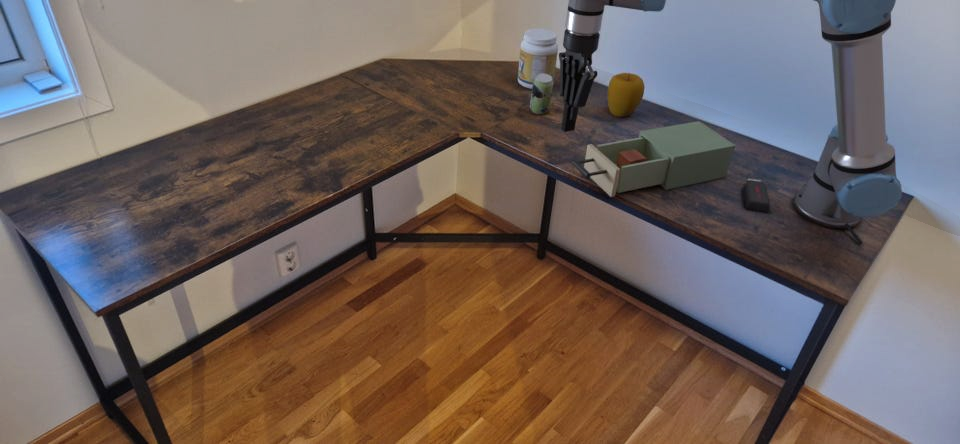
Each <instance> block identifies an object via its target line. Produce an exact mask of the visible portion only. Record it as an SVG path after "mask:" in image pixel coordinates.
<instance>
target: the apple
mask: <svg viewBox="0 0 960 444" xmlns="http://www.w3.org/2000/svg"><path fill="white" fill-rule="evenodd" d="M644 94H645V81H644V80H643V78H642V77H640V75H638V74H635V73H630V72H621V73H618V74H615V75H613V76H612V77H611V79H610V80H609V83H608V87H607V93H606V100H607V107H608V109H609V112H610V114H611V115H613V116H615V117H618V118H623V117H628V116H630V115H631V114H633V113H634V112H635V111H636V109H637V108H638V107H639V105H640V104H641V102H642V100H643V97H644Z"/></svg>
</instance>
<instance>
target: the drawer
mask: <svg viewBox="0 0 960 444" xmlns="http://www.w3.org/2000/svg"><path fill="white" fill-rule="evenodd" d="M633 149H635V150H637V151H638V152H639V153H640V154H642V155H643V156H644V157H645V158H646V162H641V163H636V164H631V165H625V166H622V167H621V172H620V169H619V168H618V167H617V166H616V165H617V160H618V155H619V152H623V151H628V150H633ZM670 162H671V158H670V157H669V156H667V155H666V154H665V153H664V152H662V151H661V150H660V149H658V148H657V147H656V146H655V145H653V144H652V143H651V142H649V141H648V140H647V139H646V138H644V137H640V138H639V137H635V138H629V139H624V140H618V141H613V142H606V143H600V144H597V145H596V146H594V144H592V143H589V144H587V146H586V152H585V158H584V159H582V160H581V159H580V160H576V159H574V160H572V161H571V165H572V166H573V167H574V168H575V169H577V170H578V171H579V172H580V173H581V175H582V176H583V177H585V178H586V179H591V180H592V181H593V182H594V183H595V184H597V186H598V187H600V188H601V189H602V190H603V191H604V192H605V193H606V194H607V195H608V196H609V198H614V197H616V193H618V194H619V193H625V192H629V191H634V190H639V189H642V188H649V187H653V186H658V185H659V184H663V183H665V182H666V178H667V174H668V170H669V166H670ZM582 164H583V165H582Z"/></svg>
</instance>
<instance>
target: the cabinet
mask: <svg viewBox="0 0 960 444" xmlns="http://www.w3.org/2000/svg"><path fill="white" fill-rule="evenodd" d="M640 137H644V138H646V139H647V140H648V141H649V142H651V143H652V144H653V145H655V146H656V147H657V148H658V149H660V150H661V151H662V152H664V153H665V154H666V155H667V156H669V157H670V158H671V162H670V166H669V170H668V174H667V178H666V182H665V183H663V184H658V185H659V186H660V187H662V188H663V189H664V190H665V191H667V190H668V191H669V190H673V189H676V188H681V187H686V186H690V185H695V184H699V183H704V182H709V181H714V180H718V179H723V178H726V177H727V174H728V170H729V168H730V165H731V161H732V158H733V154H734V152H735V148H736V144H734V143H733V142H731V141H730V140H728V139H727V138H725V137H723V136H722V135H720V134H719V133H718V132H716V131H715V130H713V129H712V128H710V127H709V126H707V125H706V124H705V123H703V122H701V121H699V120H698V121H692V122H691V121H690V122H685V123H680V124H674V125H667V126H662V127H656V128H651V129H645V130H640V131H639V134H638V138H640Z"/></svg>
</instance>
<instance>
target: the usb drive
mask: <svg viewBox="0 0 960 444" xmlns="http://www.w3.org/2000/svg"><path fill="white" fill-rule="evenodd" d="M742 193H743V198H744V204H745V205H744V206H745V208H746V210H751V211H759V212H764V213H769V211H770V207H771V201H770V197H769V193H768V189H767V186H766V185H765V184H764V182H763V181H762V180H760V179H754V178H747V180H746V182H745V184H744V186H743V190H742Z"/></svg>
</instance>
